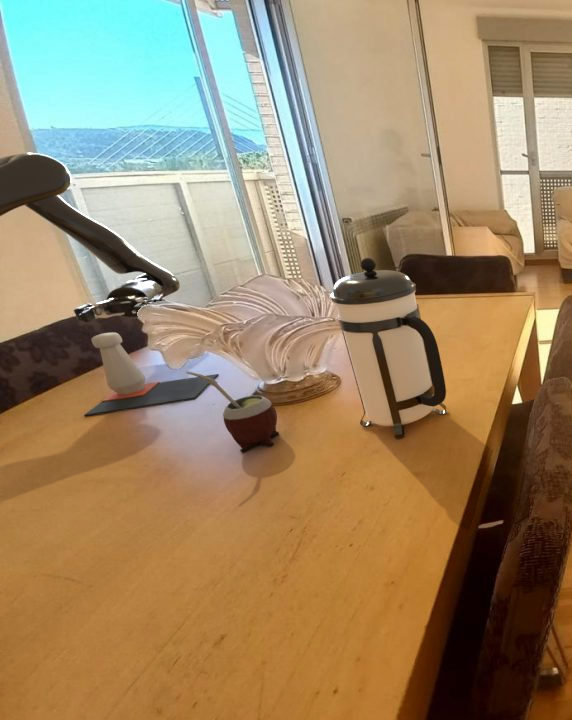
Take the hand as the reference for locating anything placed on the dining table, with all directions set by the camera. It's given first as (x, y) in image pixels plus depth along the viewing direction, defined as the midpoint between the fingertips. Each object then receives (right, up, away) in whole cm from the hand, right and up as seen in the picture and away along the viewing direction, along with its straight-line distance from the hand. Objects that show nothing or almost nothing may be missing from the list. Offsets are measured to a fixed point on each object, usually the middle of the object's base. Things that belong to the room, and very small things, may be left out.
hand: (111, 314), depth 103 cm
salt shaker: (+5, -17, 0) cm, 17 cm away
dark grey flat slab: (+11, -17, -1) cm, 20 cm away
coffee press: (+72, -21, -15) cm, 76 cm away
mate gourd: (+48, -25, -21) cm, 58 cm away
